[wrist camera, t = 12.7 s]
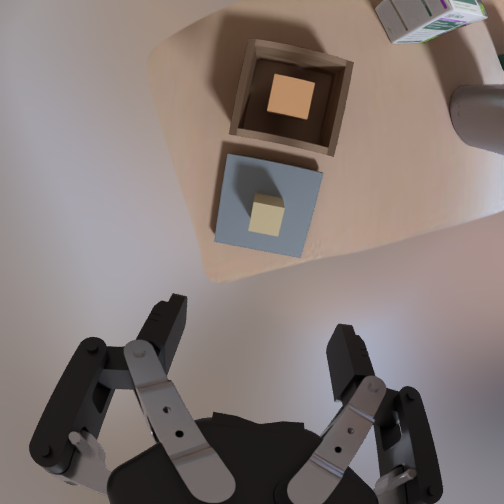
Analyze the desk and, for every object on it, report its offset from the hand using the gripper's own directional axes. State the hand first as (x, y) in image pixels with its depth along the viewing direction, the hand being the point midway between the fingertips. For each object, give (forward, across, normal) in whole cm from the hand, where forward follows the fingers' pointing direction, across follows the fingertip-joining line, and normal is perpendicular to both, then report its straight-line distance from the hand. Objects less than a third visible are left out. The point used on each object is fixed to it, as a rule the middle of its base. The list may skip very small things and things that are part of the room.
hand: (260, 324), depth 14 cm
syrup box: (+22, -12, -29) cm, 38 cm away
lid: (+21, 0, 0) cm, 21 cm away
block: (+21, 0, -13) cm, 24 cm away
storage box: (+22, 0, -13) cm, 25 cm away
